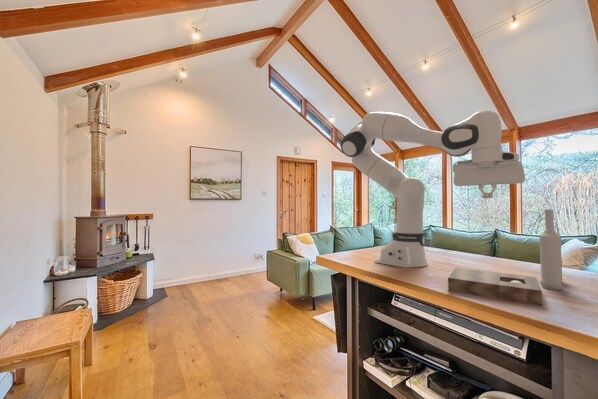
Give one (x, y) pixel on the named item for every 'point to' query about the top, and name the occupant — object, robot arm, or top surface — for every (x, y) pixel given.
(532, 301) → the board
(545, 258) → the bottle
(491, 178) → the robot arm
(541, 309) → the top surface
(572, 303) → the top surface
